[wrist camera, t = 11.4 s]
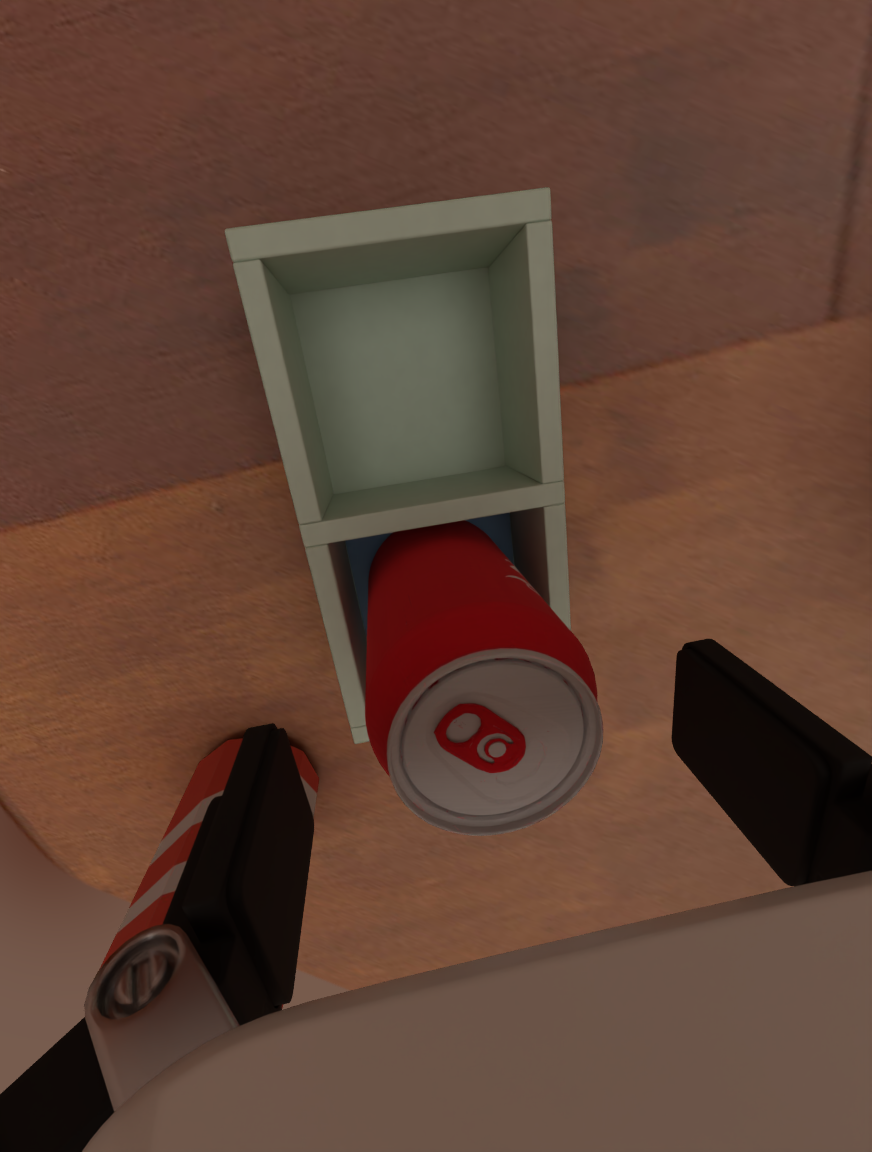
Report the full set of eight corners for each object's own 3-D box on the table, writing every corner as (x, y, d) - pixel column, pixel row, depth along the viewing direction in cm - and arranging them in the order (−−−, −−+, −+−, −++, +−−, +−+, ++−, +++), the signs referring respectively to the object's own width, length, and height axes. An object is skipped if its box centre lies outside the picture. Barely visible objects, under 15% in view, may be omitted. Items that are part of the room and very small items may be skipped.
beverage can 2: (443, 658, 24) (504, 886, 13) (341, 589, 22) (307, 785, 11) (527, 564, 23) (677, 724, 12) (427, 482, 21) (487, 577, 10)
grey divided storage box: (266, 277, 18) (223, 228, 13) (502, 245, 19) (551, 185, 14) (358, 671, 25) (354, 745, 19) (533, 638, 25) (575, 701, 20)
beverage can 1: (326, 811, 27) (293, 1096, 16) (209, 824, 27) (90, 1131, 16) (314, 723, 25) (266, 980, 14) (187, 735, 25) (31, 1015, 13)
